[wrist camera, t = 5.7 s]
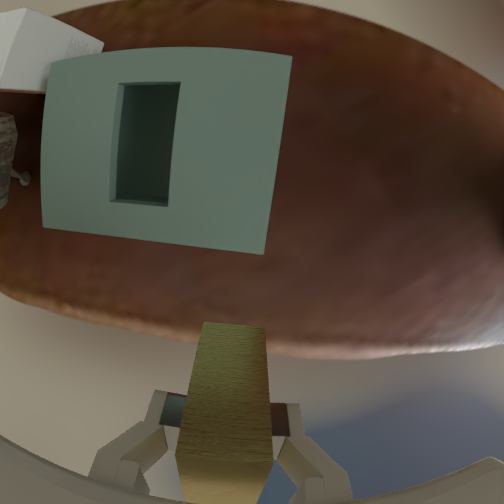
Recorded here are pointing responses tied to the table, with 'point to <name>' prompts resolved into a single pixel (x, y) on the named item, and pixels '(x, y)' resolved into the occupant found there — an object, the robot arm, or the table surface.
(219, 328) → the wooden yellow block
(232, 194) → the coin box
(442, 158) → the table surface
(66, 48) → the small box
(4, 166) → the tabletop clock
